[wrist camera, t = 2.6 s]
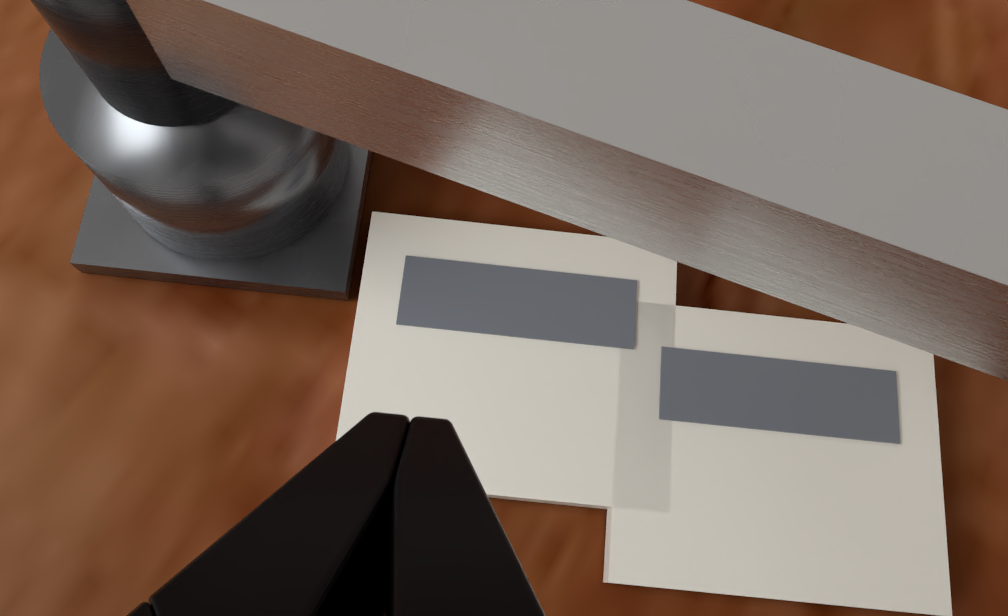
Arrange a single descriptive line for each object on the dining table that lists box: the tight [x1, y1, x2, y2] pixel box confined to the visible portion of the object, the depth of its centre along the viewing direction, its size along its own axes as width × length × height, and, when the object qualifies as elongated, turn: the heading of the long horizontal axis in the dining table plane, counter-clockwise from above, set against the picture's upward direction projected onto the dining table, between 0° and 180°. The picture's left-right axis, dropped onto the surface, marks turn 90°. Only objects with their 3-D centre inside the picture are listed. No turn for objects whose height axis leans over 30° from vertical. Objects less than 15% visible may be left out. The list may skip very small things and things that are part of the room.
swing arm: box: [31, 0, 1008, 381], centre depth 13 cm, size 3×19×4 cm, turn 70°
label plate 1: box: [336, 211, 677, 513], centre depth 18 cm, size 6×7×1 cm
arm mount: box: [39, 29, 372, 301], centre depth 17 cm, size 6×6×4 cm
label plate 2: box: [603, 303, 952, 616], centre depth 18 cm, size 6×7×1 cm
